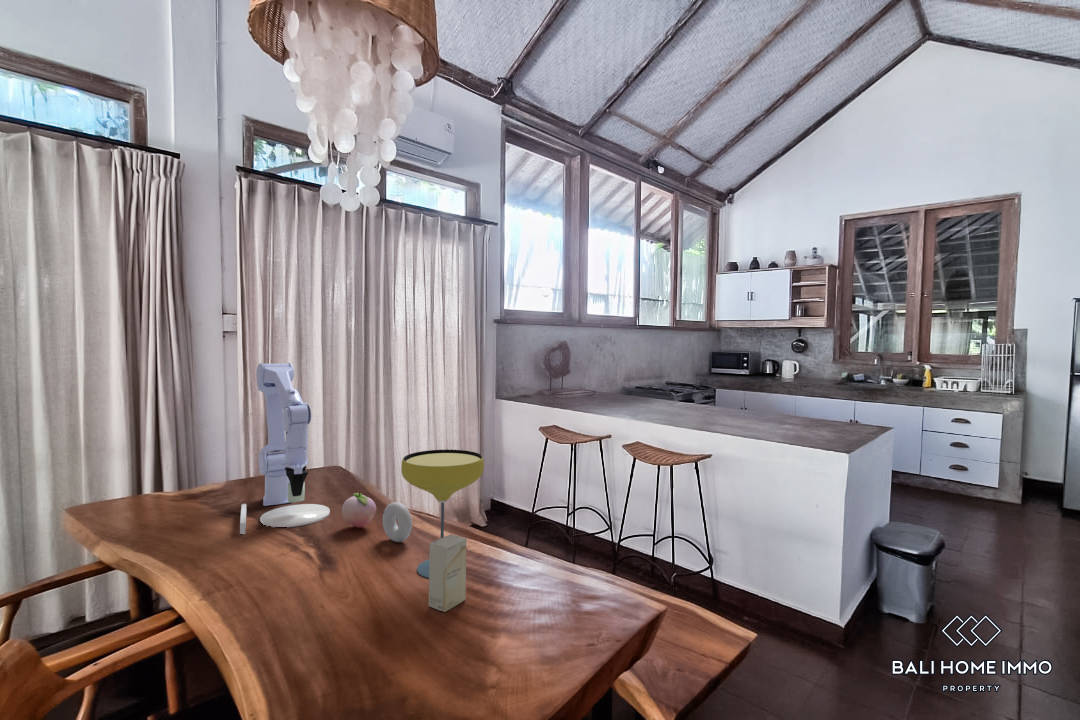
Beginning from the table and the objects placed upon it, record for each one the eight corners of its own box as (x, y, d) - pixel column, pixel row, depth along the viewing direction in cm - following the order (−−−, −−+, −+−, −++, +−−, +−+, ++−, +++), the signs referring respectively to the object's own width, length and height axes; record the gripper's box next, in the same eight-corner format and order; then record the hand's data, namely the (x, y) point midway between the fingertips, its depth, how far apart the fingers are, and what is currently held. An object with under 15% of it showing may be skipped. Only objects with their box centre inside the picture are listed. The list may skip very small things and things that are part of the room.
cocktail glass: (395, 558, 114) (396, 451, 113) (470, 547, 121) (471, 447, 120) (406, 594, 97) (407, 469, 97) (492, 578, 104) (494, 463, 104)
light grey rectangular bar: (241, 514, 142) (241, 504, 142) (246, 513, 142) (246, 503, 142) (239, 534, 126) (240, 523, 126) (245, 534, 127) (245, 522, 127)
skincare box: (444, 613, 90) (445, 548, 90) (427, 606, 93) (428, 543, 92) (466, 599, 96) (467, 537, 95) (449, 593, 98) (450, 533, 98)
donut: (379, 538, 125) (379, 500, 125) (390, 534, 128) (391, 497, 128) (403, 548, 119) (404, 508, 119) (414, 544, 122) (415, 504, 122)
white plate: (259, 512, 144) (259, 509, 144) (325, 503, 153) (325, 500, 153) (260, 531, 128) (260, 528, 128) (333, 521, 137) (333, 518, 137)
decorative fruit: (335, 527, 132) (335, 491, 132) (363, 520, 138) (364, 485, 138) (351, 537, 126) (352, 498, 126) (380, 529, 132) (381, 492, 132)
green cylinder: (287, 499, 141) (287, 482, 141) (303, 497, 144) (304, 480, 144) (288, 503, 138) (288, 485, 138) (305, 501, 140) (305, 483, 140)
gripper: (279, 443, 145) (279, 488, 145) (282, 452, 132) (281, 502, 132) (306, 441, 148) (305, 485, 148) (310, 450, 136) (310, 498, 136)
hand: (296, 493), depth 141 cm, fingers closed on green cylinder, 4 cm apart
